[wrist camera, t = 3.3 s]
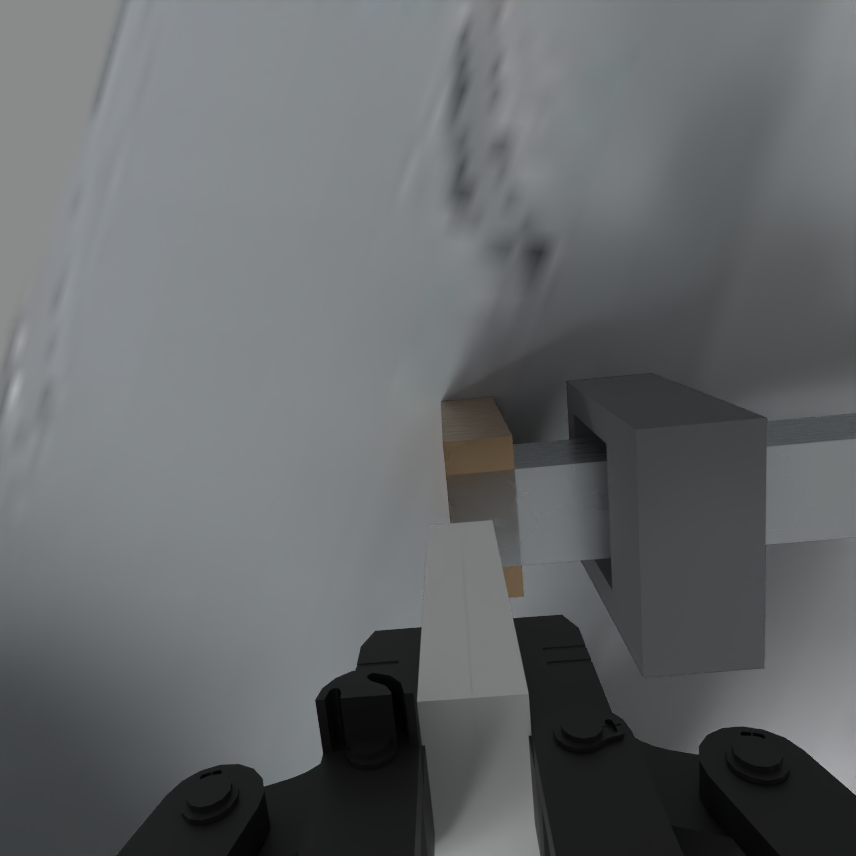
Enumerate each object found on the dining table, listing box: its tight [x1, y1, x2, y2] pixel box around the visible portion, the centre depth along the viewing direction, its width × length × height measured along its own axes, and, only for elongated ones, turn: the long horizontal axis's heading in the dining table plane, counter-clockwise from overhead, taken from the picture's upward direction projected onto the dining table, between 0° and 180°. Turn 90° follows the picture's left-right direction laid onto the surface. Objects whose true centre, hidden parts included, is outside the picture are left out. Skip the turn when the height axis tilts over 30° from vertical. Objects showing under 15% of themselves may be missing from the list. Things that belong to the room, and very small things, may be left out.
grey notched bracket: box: [566, 373, 767, 678], centre depth 20 cm, size 3×6×8 cm, turn 5°
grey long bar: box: [441, 397, 856, 597], centre depth 22 cm, size 26×5×7 cm, turn 95°
